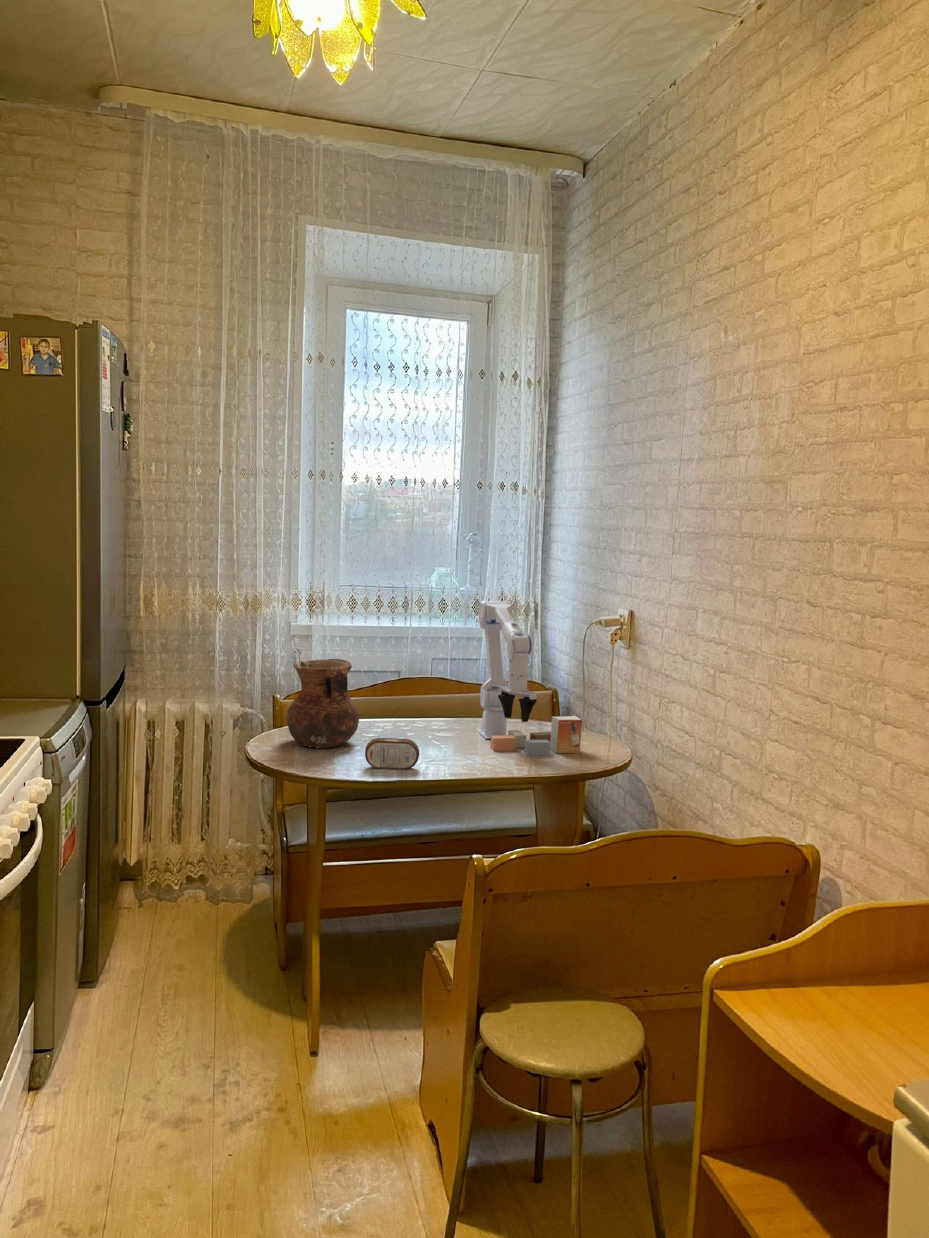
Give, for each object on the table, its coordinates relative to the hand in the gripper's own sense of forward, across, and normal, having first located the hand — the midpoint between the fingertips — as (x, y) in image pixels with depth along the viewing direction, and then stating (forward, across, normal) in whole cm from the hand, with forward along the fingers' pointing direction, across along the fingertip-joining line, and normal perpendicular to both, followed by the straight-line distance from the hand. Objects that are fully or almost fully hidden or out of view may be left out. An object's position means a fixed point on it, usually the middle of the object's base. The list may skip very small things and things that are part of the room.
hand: (516, 719), depth 278 cm
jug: (+10, -38, -45) cm, 59 cm away
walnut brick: (+10, -2, +13) cm, 17 cm away
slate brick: (+10, +5, +4) cm, 12 cm away
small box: (+10, +7, +14) cm, 19 cm away
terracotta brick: (+10, -4, -1) cm, 11 cm away
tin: (+11, -4, -43) cm, 44 cm away
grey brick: (+10, -6, +6) cm, 13 cm away
